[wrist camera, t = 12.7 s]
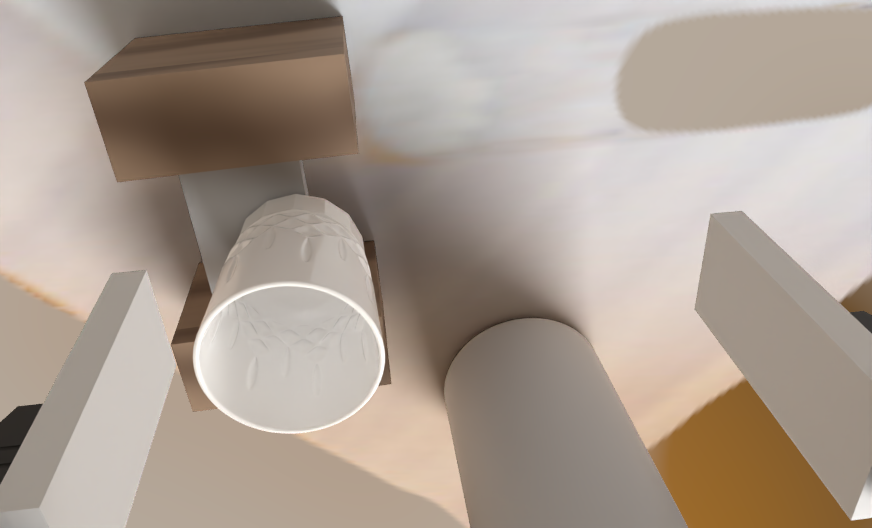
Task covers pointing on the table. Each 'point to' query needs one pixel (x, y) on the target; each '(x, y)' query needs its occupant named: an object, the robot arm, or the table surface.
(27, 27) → the table surface
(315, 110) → the shelf
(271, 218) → the white cup
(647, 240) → the table surface
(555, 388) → the cylinder vase
